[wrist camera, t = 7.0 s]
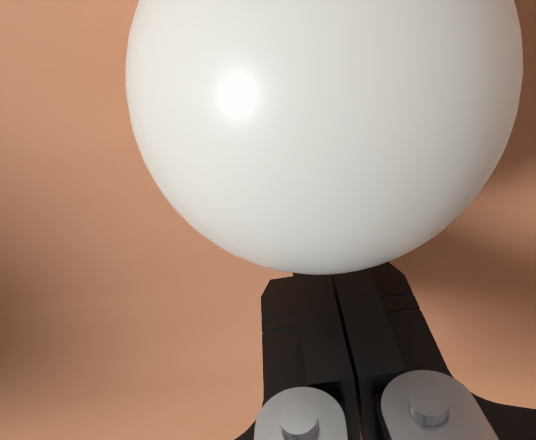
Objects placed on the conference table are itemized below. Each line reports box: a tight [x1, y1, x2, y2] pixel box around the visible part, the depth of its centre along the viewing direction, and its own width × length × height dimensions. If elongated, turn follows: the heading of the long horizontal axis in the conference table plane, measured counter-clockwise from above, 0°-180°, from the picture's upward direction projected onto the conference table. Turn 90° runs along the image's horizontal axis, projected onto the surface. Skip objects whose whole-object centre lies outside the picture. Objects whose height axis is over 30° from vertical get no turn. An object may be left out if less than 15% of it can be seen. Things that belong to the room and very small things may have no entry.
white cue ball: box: [126, 0, 523, 275], centre depth 7 cm, size 6×6×6 cm
